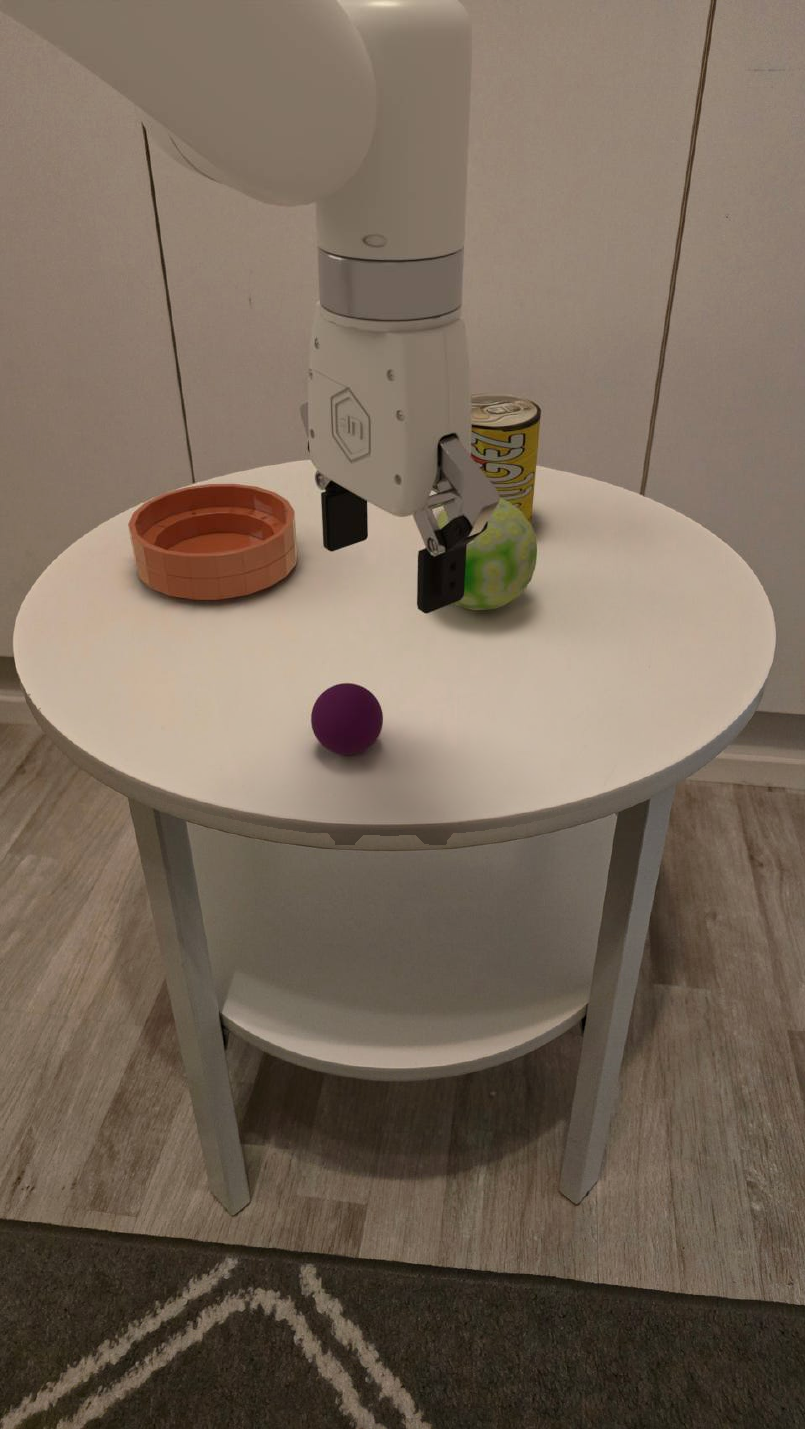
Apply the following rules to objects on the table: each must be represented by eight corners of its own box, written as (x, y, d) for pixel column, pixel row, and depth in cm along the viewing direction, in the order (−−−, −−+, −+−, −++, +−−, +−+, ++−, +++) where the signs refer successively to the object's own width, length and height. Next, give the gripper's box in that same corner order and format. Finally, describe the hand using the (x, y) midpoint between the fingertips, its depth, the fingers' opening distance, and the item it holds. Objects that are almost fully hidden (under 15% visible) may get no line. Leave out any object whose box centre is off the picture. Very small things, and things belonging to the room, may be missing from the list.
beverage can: (428, 516, 103) (430, 403, 96) (499, 498, 107) (506, 388, 100) (474, 551, 97) (480, 433, 90) (548, 530, 101) (560, 416, 93)
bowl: (184, 623, 86) (176, 573, 83) (111, 558, 96) (101, 511, 93) (327, 572, 94) (325, 524, 91) (246, 516, 103) (241, 471, 100)
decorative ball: (517, 572, 94) (525, 473, 88) (545, 627, 86) (555, 522, 80) (415, 579, 93) (416, 480, 87) (433, 636, 85) (436, 530, 79)
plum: (326, 777, 70) (322, 719, 67) (303, 735, 74) (299, 678, 71) (394, 759, 72) (393, 701, 68) (368, 719, 75) (366, 662, 72)
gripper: (243, 262, 55) (266, 539, 65) (441, 335, 44) (432, 654, 54) (352, 245, 59) (358, 510, 69) (560, 308, 48) (530, 611, 58)
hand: (390, 573), depth 62 cm, fingers open, 9 cm apart
